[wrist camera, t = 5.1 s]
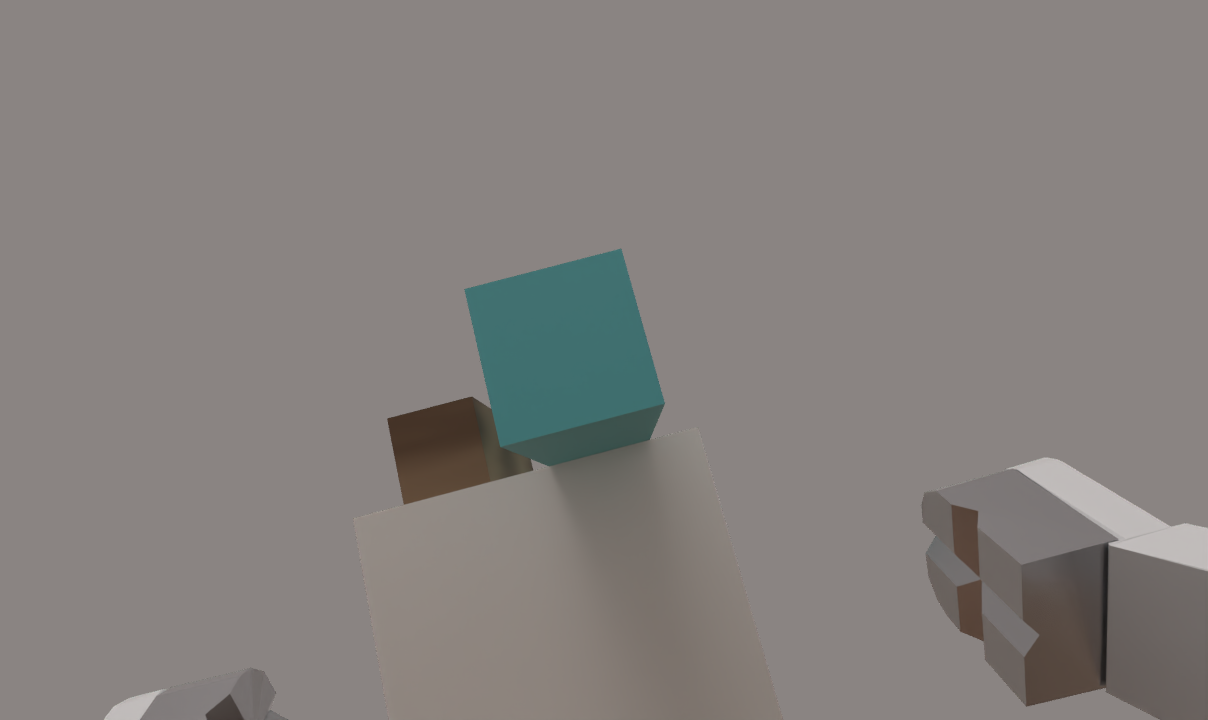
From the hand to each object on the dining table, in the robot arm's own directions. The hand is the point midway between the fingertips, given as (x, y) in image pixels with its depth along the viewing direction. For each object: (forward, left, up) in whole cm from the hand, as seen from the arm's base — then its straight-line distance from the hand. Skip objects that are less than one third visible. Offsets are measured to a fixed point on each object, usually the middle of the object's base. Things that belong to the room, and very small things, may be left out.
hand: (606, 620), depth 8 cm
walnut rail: (-20, +7, +3) cm, 21 cm away
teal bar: (-14, +9, +3) cm, 17 cm away
